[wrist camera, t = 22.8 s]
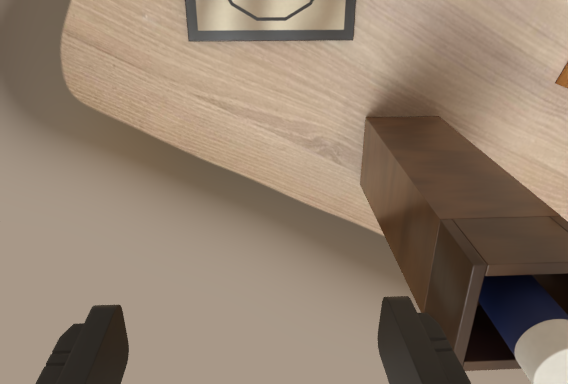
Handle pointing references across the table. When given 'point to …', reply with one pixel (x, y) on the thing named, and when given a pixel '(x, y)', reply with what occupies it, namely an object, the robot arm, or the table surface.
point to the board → (563, 77)
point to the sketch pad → (270, 20)
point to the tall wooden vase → (458, 228)
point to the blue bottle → (529, 325)
